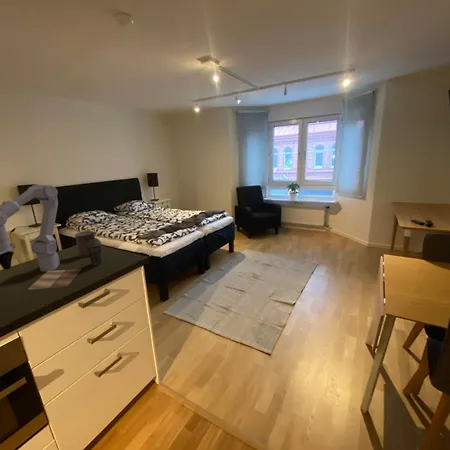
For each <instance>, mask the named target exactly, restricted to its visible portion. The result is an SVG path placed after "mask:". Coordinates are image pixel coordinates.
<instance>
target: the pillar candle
mask: <svg viewBox="0 0 450 450" xmlns="http://www.w3.org/2000/svg"><path fill="white" fill-rule="evenodd" d="M74 236H75V242H76V247H77V250H78V251H77V252H78V257H79V258H80V259H86V258H87V259H88V258H90V255H89V251H88V249H87V242H88V240H90V239H91V238H94V230H84V231H79V232H77V233H75V234H74Z"/></svg>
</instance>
